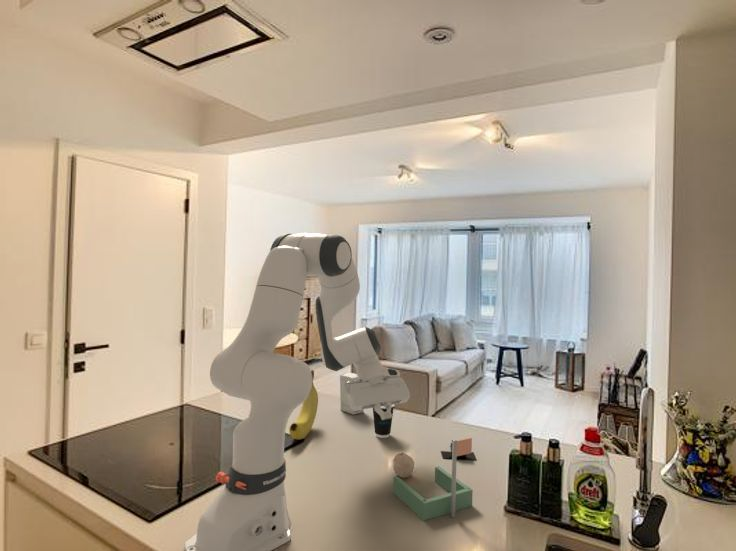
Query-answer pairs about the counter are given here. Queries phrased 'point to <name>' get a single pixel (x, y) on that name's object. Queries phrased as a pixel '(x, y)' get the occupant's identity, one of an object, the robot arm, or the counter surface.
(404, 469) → the garlic bulb
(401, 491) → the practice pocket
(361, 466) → the counter surface
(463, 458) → the build plate
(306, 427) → the banana
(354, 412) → the skincare box
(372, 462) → the counter surface
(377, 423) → the dixie cup
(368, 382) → the robot arm
